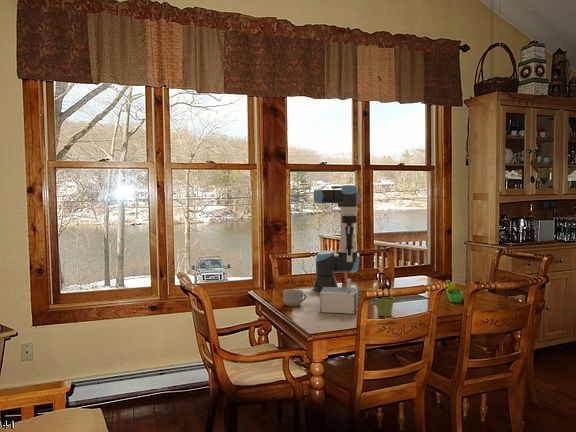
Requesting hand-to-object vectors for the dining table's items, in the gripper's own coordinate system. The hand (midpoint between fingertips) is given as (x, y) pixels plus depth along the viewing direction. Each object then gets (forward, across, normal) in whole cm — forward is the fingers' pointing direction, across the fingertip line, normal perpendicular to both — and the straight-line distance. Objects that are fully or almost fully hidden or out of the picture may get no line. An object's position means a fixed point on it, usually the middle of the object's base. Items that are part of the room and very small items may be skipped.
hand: (349, 261), depth 235 cm
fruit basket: (+25, +31, -54) cm, 68 cm away
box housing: (+25, +2, +6) cm, 26 cm away
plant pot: (+26, -6, -18) cm, 31 cm away
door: (+25, -6, +6) cm, 26 cm away
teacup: (+26, +6, +30) cm, 39 cm away
